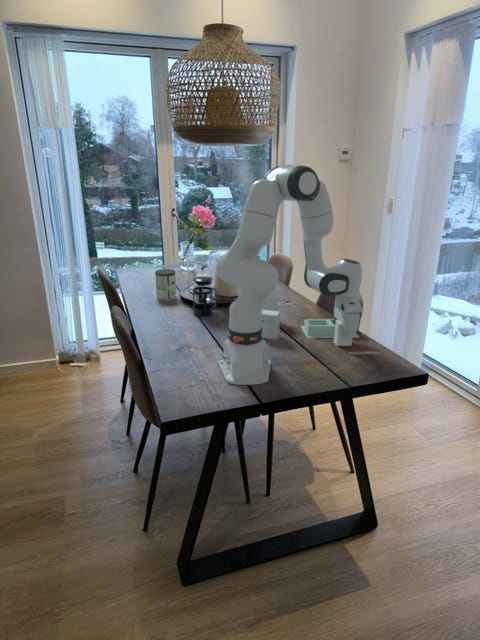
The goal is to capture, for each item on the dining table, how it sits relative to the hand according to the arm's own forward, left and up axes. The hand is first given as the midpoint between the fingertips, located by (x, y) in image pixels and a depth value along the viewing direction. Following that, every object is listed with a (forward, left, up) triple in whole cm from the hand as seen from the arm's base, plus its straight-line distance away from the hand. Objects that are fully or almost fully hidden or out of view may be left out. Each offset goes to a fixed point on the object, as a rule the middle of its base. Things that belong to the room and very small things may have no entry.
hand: (343, 335), depth 171 cm
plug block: (0, 0, -5) cm, 5 cm away
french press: (+40, +55, -5) cm, 68 cm away
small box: (+11, +28, -5) cm, 30 cm away
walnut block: (+13, -3, -4) cm, 14 cm away
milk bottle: (+29, +26, -5) cm, 39 cm away
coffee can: (+65, +75, -5) cm, 99 cm away
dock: (+13, +2, -5) cm, 14 cm away
